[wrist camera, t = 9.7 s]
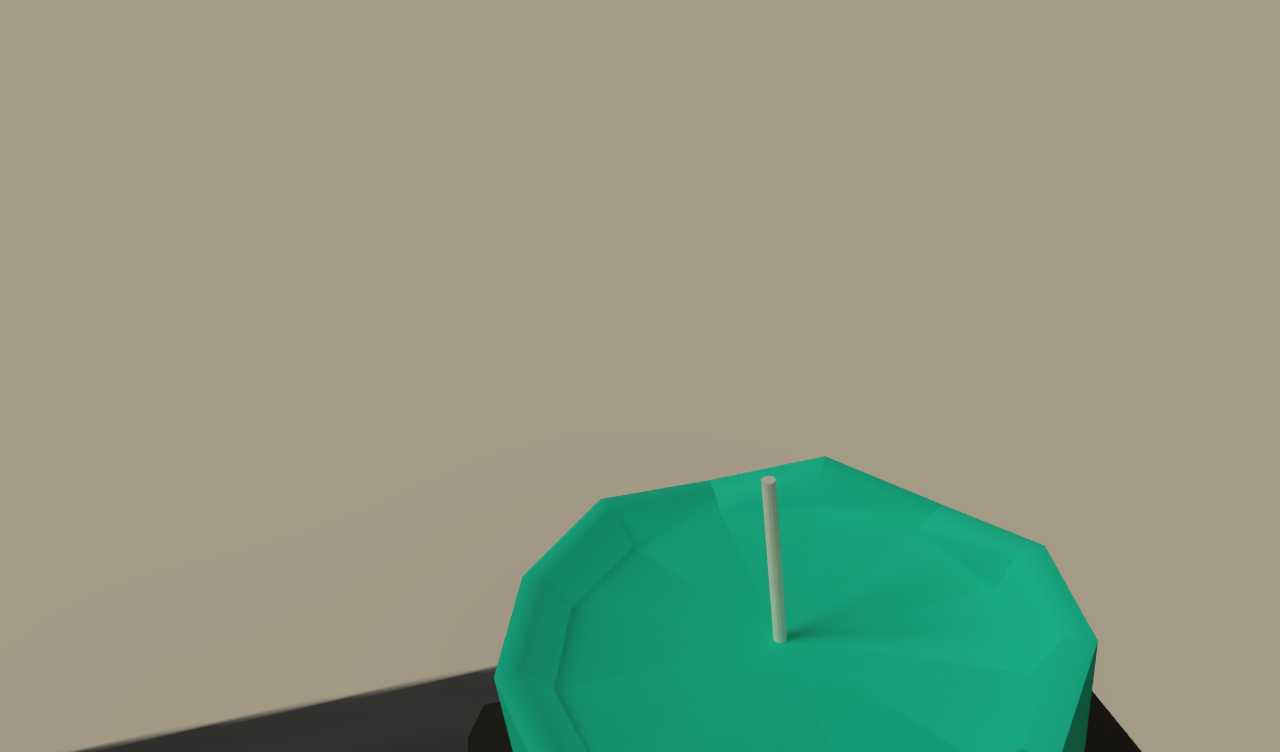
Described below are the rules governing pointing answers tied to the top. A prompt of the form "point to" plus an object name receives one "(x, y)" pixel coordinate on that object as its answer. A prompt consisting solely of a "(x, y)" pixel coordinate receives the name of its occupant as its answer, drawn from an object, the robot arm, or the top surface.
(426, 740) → the top surface
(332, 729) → the top surface
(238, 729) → the top surface
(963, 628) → the candle
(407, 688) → the top surface
